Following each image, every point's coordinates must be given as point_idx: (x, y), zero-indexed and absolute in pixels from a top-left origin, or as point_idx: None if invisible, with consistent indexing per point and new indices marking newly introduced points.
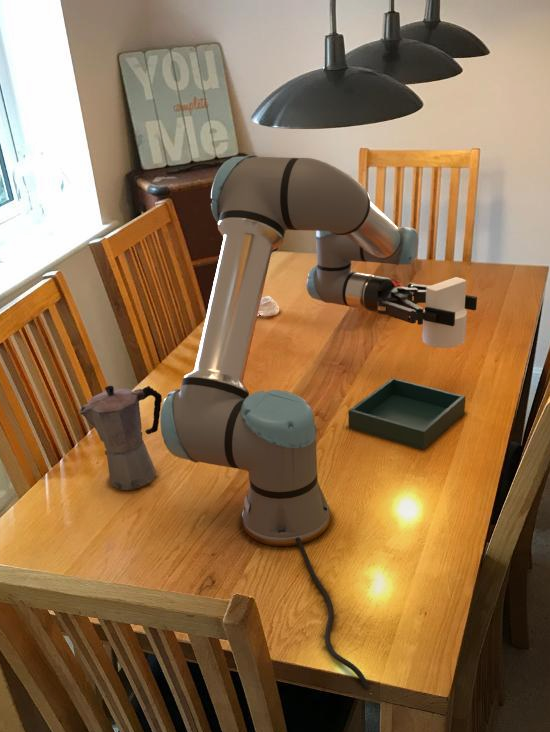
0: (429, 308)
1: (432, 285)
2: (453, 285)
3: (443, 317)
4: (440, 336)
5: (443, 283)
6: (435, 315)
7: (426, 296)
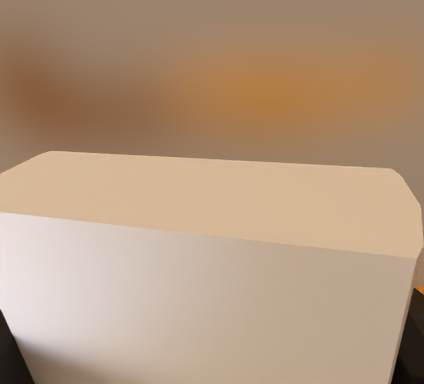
0: (416, 335)
1: (302, 237)
2: (178, 161)
3: None
4: None
5: (176, 202)
6: (418, 292)
7: (401, 335)
